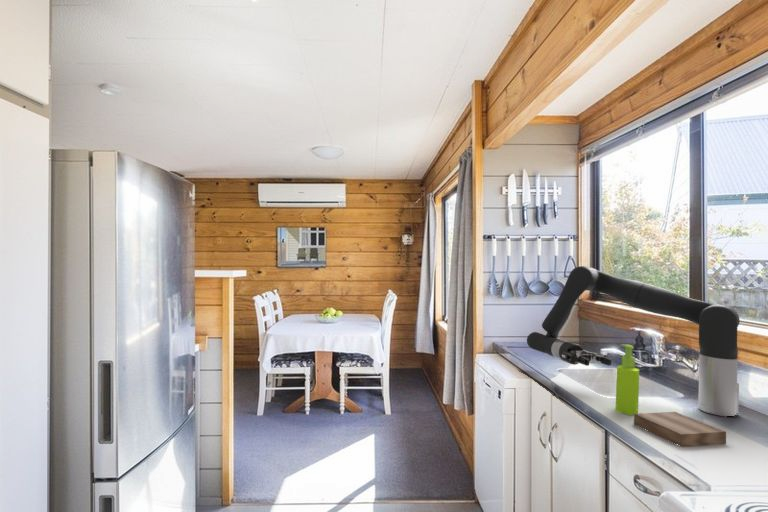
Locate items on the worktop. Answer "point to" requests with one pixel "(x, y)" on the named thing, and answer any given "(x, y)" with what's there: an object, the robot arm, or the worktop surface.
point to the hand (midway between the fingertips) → (599, 362)
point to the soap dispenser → (627, 384)
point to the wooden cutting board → (680, 429)
